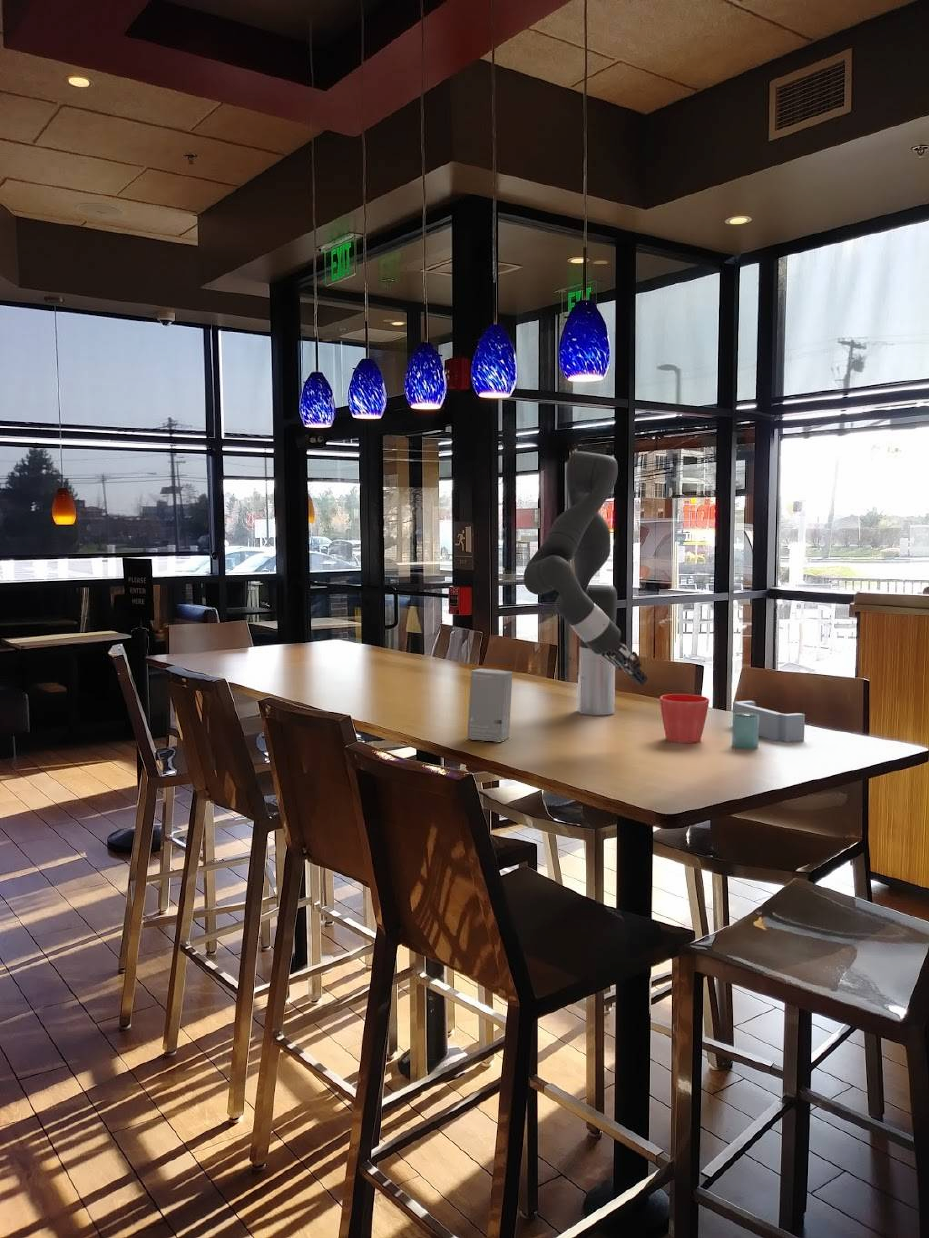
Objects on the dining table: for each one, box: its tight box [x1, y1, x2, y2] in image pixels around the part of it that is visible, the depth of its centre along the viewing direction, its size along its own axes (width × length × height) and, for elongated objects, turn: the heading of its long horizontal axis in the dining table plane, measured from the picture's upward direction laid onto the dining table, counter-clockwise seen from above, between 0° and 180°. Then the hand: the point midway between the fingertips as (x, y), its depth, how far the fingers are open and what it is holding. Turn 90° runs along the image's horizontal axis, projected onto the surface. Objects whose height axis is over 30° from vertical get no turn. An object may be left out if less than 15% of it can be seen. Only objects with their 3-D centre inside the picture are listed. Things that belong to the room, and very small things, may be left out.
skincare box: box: [467, 668, 514, 742], centre depth 227 cm, size 8×7×16 cm
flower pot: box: [659, 693, 710, 744], centre depth 228 cm, size 11×11×10 cm
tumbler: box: [731, 713, 759, 750], centre depth 221 cm, size 6×6×7 cm
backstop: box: [732, 700, 806, 743], centre depth 236 cm, size 6×20×6 cm, turn 21°
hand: (642, 681), depth 223 cm, fingers closed
